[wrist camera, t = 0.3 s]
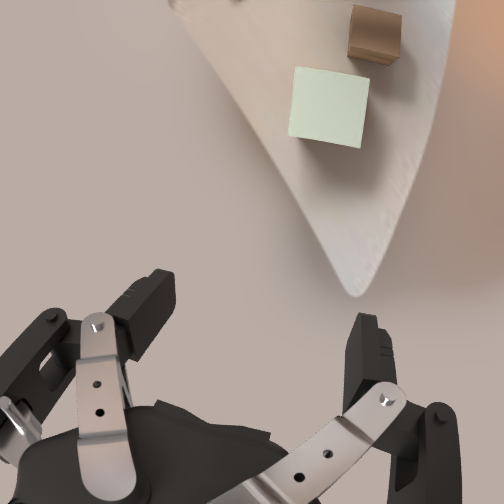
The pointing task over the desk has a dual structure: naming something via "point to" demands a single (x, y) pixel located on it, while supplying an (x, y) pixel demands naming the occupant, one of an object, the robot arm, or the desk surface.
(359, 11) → the walnut block
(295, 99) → the upper slab
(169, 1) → the desk surface
